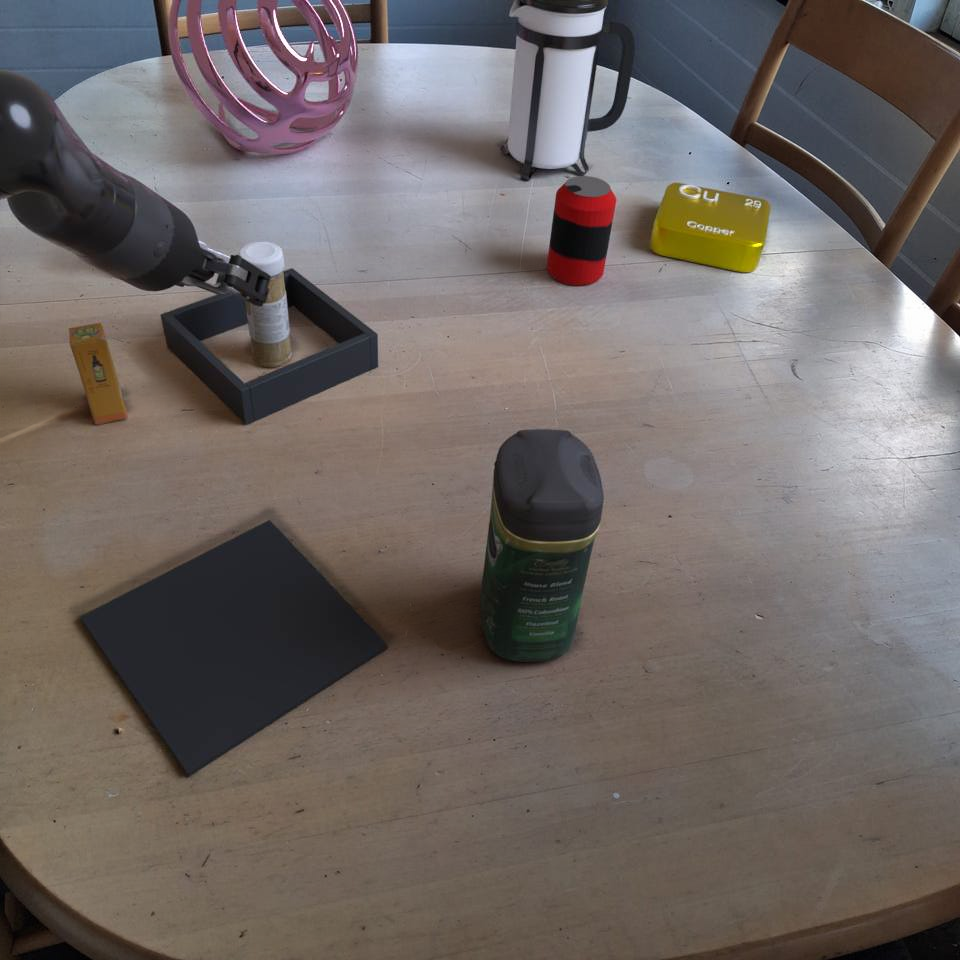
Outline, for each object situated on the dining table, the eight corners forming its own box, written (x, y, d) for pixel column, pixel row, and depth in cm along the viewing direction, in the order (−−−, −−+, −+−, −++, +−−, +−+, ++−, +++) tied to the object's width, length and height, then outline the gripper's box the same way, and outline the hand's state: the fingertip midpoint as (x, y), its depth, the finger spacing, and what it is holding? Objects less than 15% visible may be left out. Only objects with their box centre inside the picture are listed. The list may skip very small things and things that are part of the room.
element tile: (646, 253, 125) (653, 221, 121) (663, 207, 135) (669, 176, 132) (755, 276, 122) (765, 244, 119) (763, 227, 133) (773, 196, 129)
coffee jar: (580, 665, 74) (619, 507, 62) (485, 669, 74) (504, 509, 61) (562, 575, 81) (593, 416, 69) (475, 578, 80) (490, 417, 68)
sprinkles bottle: (258, 343, 104) (244, 237, 95) (297, 348, 104) (287, 242, 95) (247, 367, 101) (232, 259, 91) (287, 371, 100) (276, 264, 91)
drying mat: (188, 777, 65) (187, 773, 65) (80, 621, 74) (79, 616, 74) (387, 648, 74) (387, 644, 74) (270, 523, 84) (269, 519, 83)
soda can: (536, 263, 121) (546, 177, 113) (583, 252, 124) (597, 168, 116) (565, 291, 116) (578, 204, 108) (614, 280, 119) (630, 194, 111)
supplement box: (124, 400, 95) (103, 320, 88) (128, 420, 93) (106, 339, 86) (91, 406, 94) (67, 325, 87) (93, 426, 92) (69, 345, 85)
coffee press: (569, 196, 136) (600, -25, 115) (479, 166, 141) (493, -50, 121) (618, 158, 147) (654, -50, 126) (532, 131, 152) (554, -72, 132)
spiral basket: (113, -17, 133) (198, -108, 114) (275, 4, 152) (371, -71, 132) (159, 176, 138) (248, 121, 118) (311, 174, 156) (410, 126, 137)
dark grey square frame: (245, 425, 93) (240, 391, 90) (167, 348, 102) (159, 314, 99) (378, 367, 102) (377, 333, 99) (295, 300, 111) (292, 267, 108)
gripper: (220, 203, 70) (299, 265, 86) (64, 167, 73) (168, 233, 89) (194, 296, 70) (278, 340, 86) (38, 256, 73) (147, 306, 89)
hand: (222, 286), depth 88 cm, fingers open, 8 cm apart
